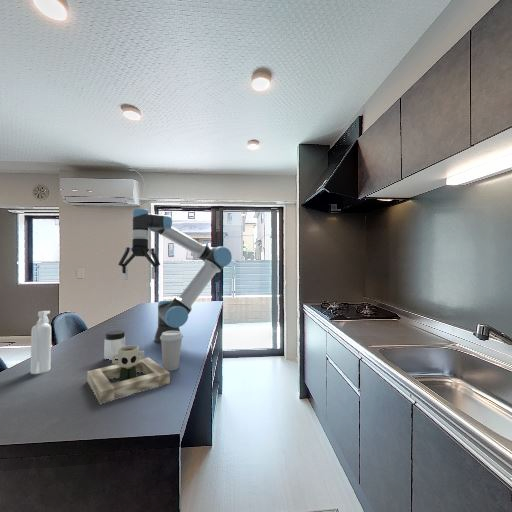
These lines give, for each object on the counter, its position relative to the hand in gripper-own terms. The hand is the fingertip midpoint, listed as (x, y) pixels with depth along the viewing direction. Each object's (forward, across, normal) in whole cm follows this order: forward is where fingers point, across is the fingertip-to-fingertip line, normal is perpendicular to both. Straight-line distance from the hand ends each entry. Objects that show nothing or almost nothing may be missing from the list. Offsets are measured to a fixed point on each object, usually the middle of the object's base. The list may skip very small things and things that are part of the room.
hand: (139, 279), depth 140 cm
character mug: (+37, +16, +36) cm, 54 cm away
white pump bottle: (+37, +40, +1) cm, 54 cm away
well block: (+37, +16, +36) cm, 54 cm away
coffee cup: (+37, -3, +33) cm, 49 cm away
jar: (+37, +12, +3) cm, 39 cm away
